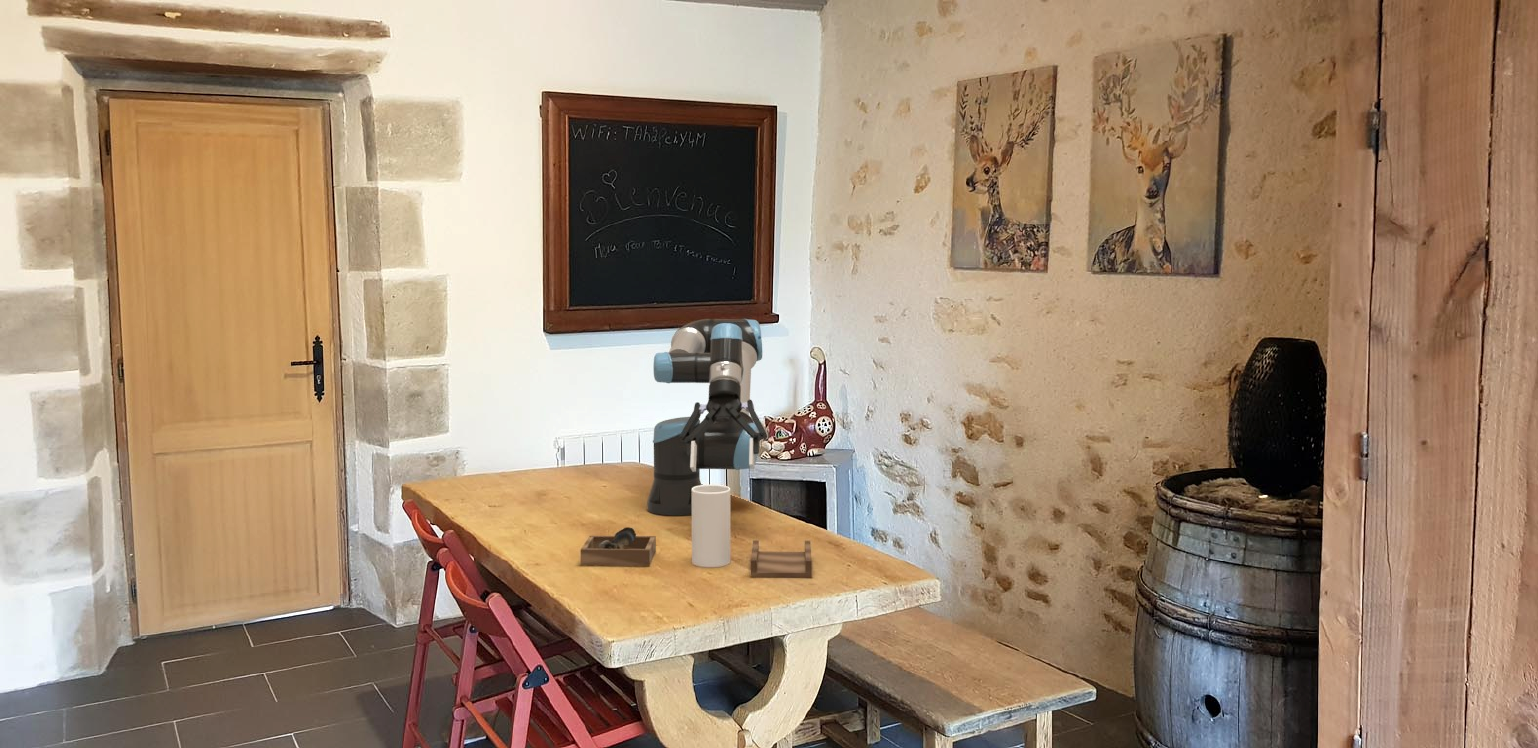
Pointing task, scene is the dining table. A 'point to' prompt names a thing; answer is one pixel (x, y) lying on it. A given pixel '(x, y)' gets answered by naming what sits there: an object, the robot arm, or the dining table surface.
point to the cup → (711, 525)
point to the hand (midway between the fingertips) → (722, 468)
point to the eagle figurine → (620, 539)
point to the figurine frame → (619, 552)
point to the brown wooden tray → (781, 563)
